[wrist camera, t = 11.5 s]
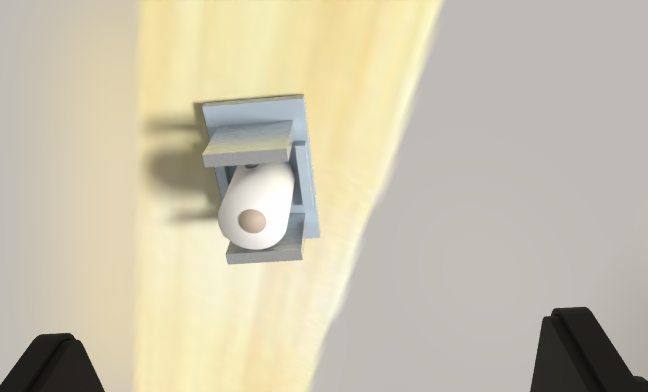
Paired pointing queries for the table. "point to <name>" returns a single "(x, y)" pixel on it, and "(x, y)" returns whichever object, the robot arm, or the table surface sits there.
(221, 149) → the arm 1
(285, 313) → the table surface
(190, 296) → the table surface
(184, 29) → the table surface
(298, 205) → the holder
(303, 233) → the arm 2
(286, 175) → the roll
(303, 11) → the table surface
